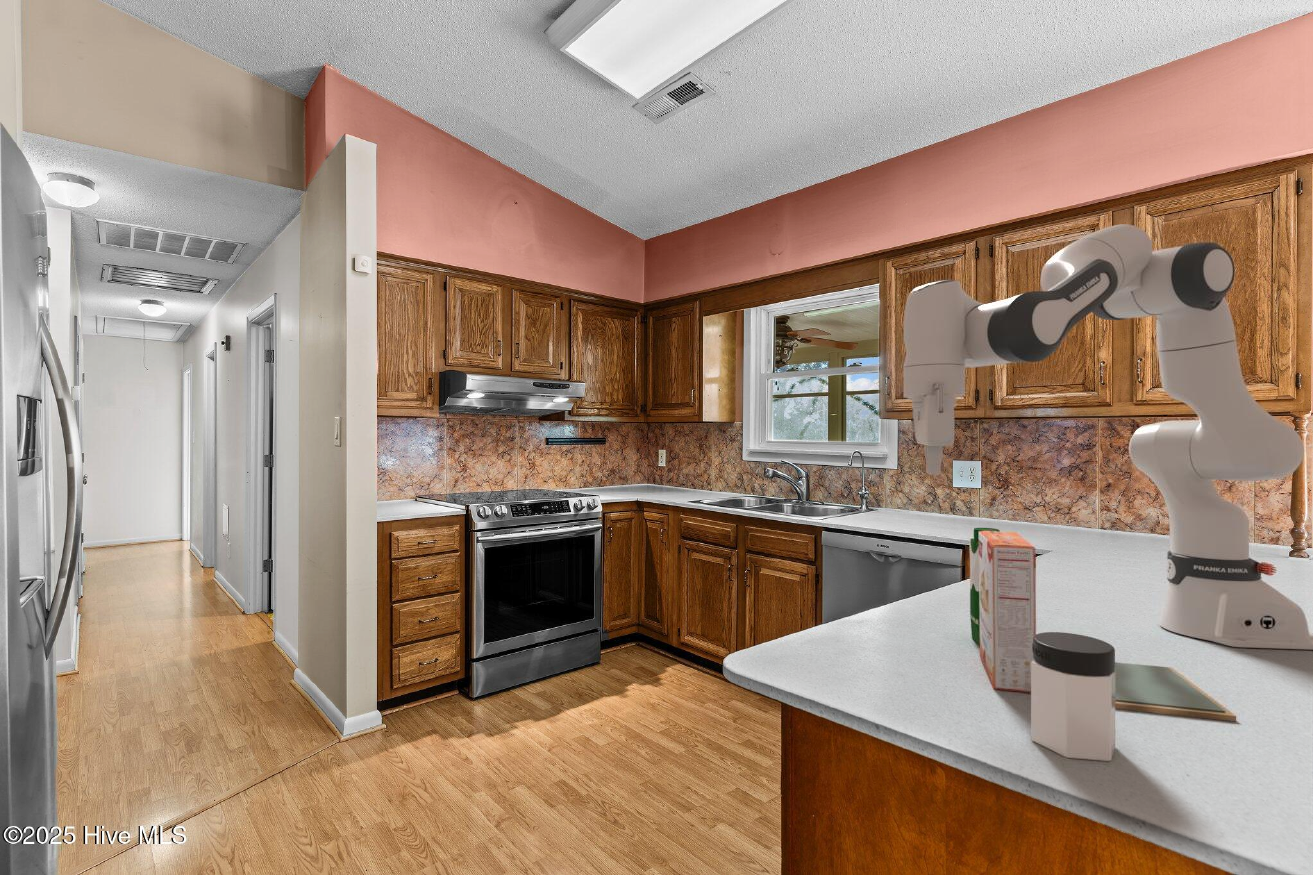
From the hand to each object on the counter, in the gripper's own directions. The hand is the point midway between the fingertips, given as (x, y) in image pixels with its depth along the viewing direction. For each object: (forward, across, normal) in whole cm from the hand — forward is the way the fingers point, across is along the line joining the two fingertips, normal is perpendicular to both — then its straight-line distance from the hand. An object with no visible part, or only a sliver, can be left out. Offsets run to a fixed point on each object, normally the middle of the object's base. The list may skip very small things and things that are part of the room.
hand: (933, 474), depth 101 cm
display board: (+30, 0, -25) cm, 39 cm away
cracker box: (+30, 0, -10) cm, 32 cm away
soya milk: (+30, +15, -12) cm, 36 cm away
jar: (+30, -22, -13) cm, 40 cm away
